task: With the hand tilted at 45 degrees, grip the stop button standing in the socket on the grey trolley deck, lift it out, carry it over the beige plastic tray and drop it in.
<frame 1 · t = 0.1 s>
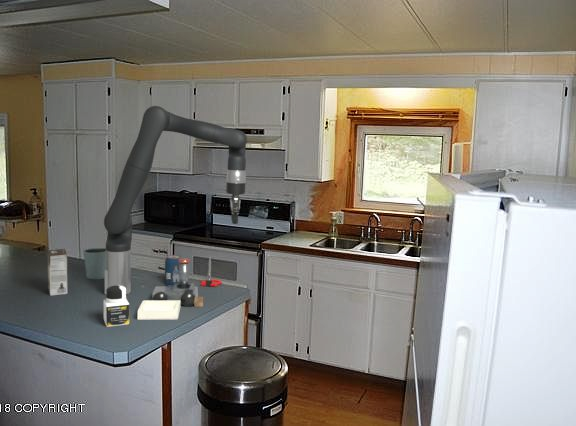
hand: (234, 222, 195), 29 cm above the countertop, tool pointing down, fingers open, 8 cm apart
soda can: (173, 284, 208), on the countertop
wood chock: (198, 305, 181), on the countertop
coffee box: (57, 292, 191), on the countertop
trolley: (175, 300, 186), on the countertop
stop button: (183, 290, 186), point 4 cm above the countertop, touching trolley
medicine bottle: (116, 322, 161), on the countertop
tow hook: (211, 284, 211), on the countertop
tray: (159, 313, 171), on the countertop
teal cup: (96, 277, 214), on the countertop
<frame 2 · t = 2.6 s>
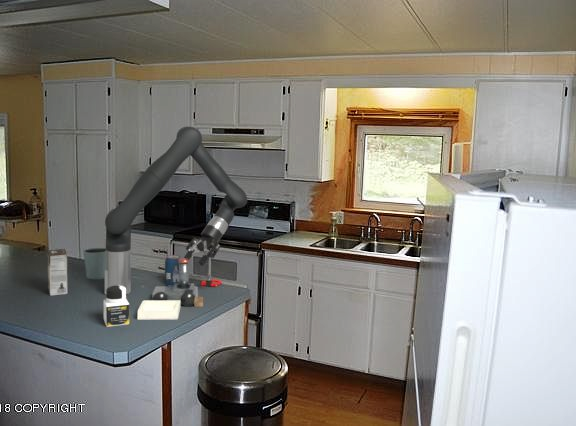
hand: (192, 262, 188), 14 cm above the countertop, tool tilted 45°, fingers open, 8 cm apart
nothing on the countertop moved.
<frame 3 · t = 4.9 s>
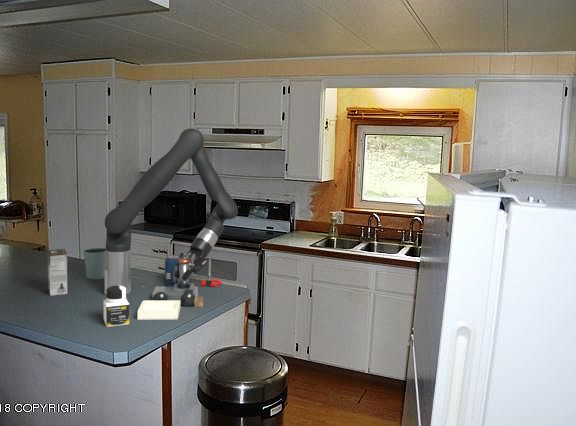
hand: (179, 278, 184), 9 cm above the countertop, tool tilted 45°, fingers closed on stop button, 3 cm apart
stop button: (183, 290, 186), point 4 cm above the countertop, touching gripper, trolley
everything else where it was.
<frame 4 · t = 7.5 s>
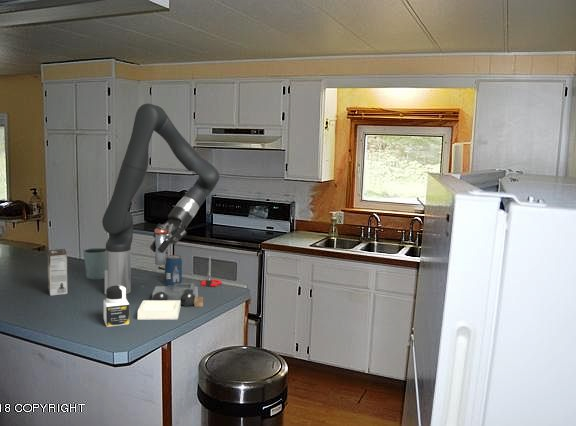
hand: (156, 250, 167), 23 cm above the countertop, tool tilted 45°, fingers closed on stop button, 3 cm apart
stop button: (160, 263, 169), point 18 cm above the countertop, touching gripper
everything else where it was.
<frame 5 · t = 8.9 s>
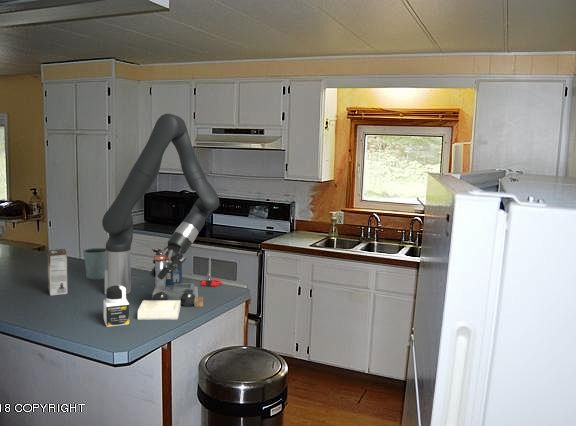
hand: (155, 276, 168), 14 cm above the countertop, tool tilted 45°, fingers closed on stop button, 3 cm apart
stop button: (160, 289, 170), point 9 cm above the countertop, touching gripper
everything else where it was.
when the fingers open (8 cm above the countertop, at t = 10.1 s): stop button drops 2 cm, resting on tray.
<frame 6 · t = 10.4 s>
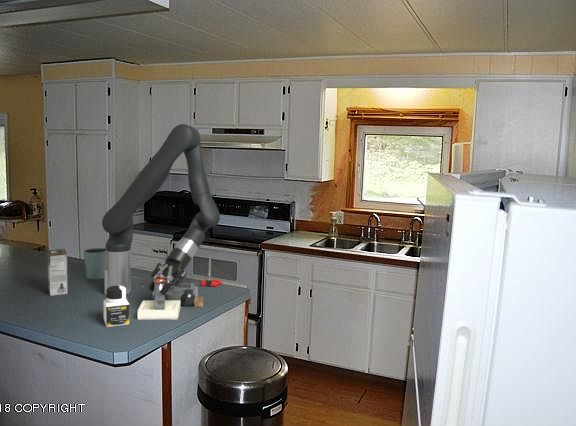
hand: (155, 291, 169), 8 cm above the countertop, tool tilted 45°, fingers open, 6 cm apart
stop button: (159, 311, 171), point 1 cm above the countertop, touching tray
everything else where it was.
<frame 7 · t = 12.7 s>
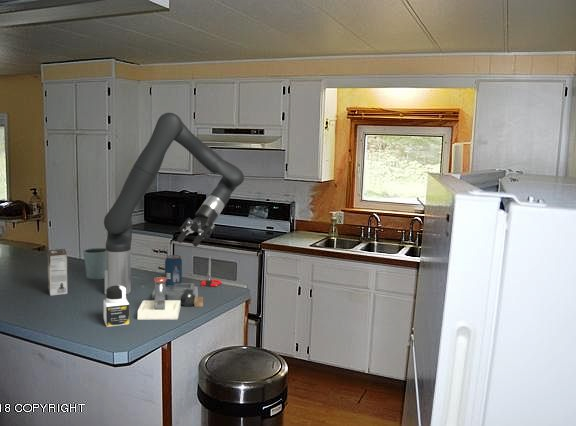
hand: (186, 243, 179), 23 cm above the countertop, tool tilted 45°, fingers open, 8 cm apart
nothing on the countertop moved.
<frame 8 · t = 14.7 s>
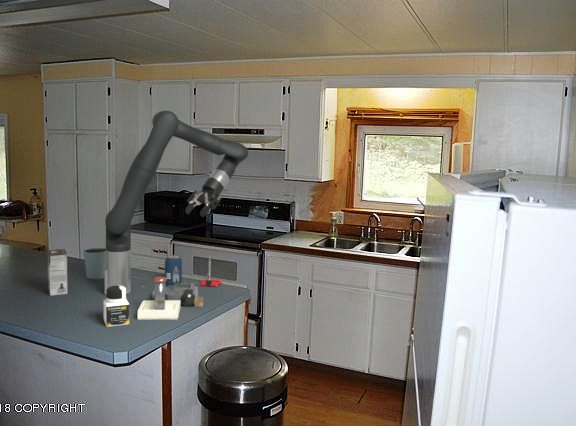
hand: (193, 214, 188), 33 cm above the countertop, tool tilted 45°, fingers open, 8 cm apart
nothing on the countertop moved.
at the end: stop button inside the target area on the tray (0.3 cm from its centre), point 0.6 cm above the tray's base; the gripper is holding nothing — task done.
